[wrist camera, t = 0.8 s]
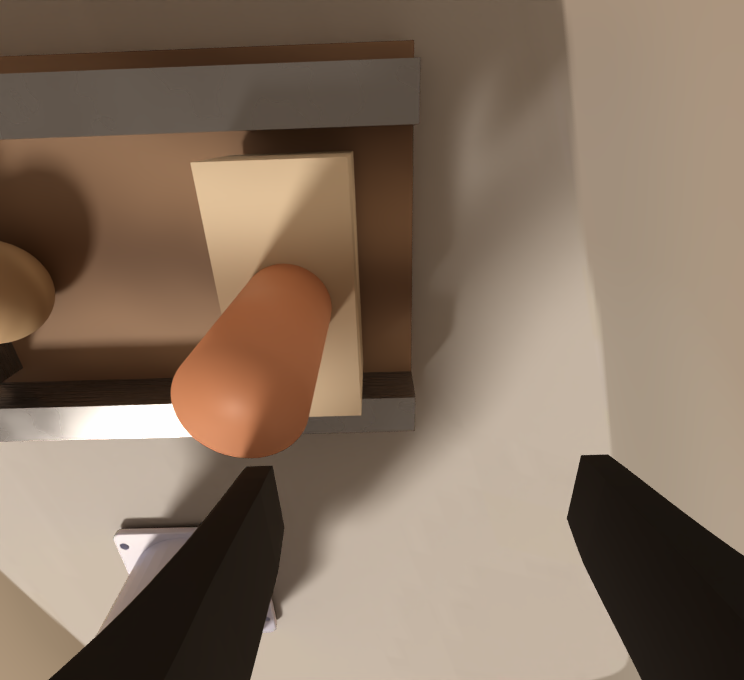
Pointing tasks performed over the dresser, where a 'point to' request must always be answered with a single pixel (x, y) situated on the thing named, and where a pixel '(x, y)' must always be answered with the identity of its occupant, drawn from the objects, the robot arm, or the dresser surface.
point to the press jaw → (275, 302)
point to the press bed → (180, 220)
